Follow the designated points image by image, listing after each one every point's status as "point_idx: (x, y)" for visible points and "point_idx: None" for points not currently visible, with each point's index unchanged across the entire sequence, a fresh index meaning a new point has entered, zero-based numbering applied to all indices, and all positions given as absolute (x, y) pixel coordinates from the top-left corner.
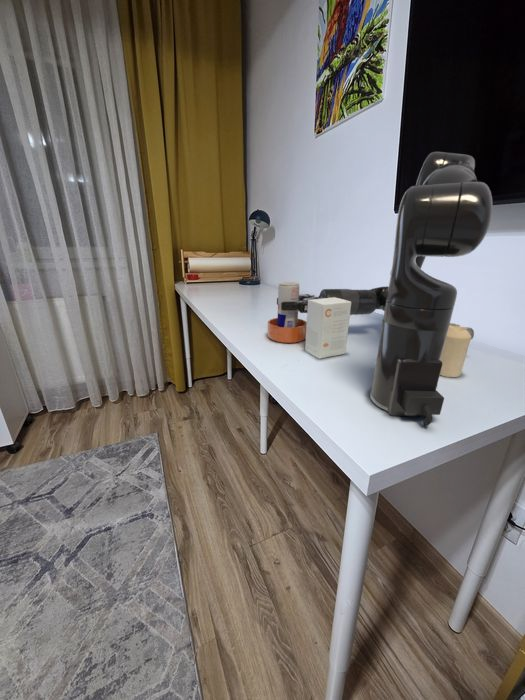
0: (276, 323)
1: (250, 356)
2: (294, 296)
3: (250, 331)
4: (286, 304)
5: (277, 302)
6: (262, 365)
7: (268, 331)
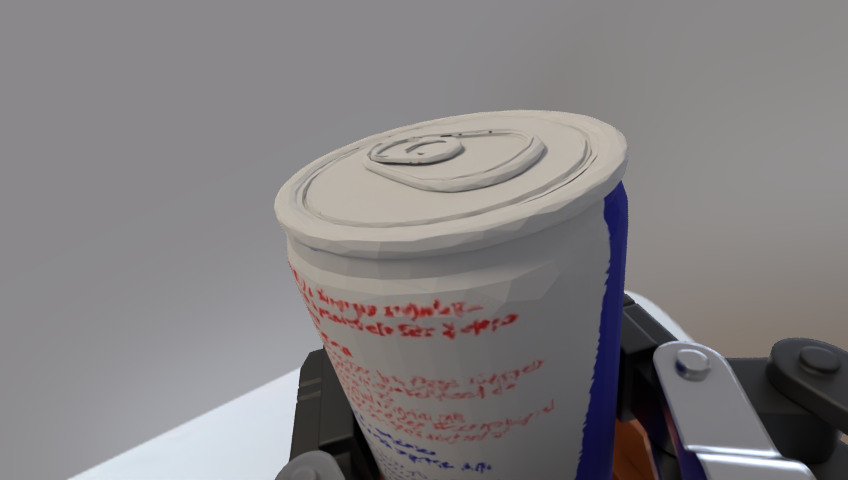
0: None
1: (233, 406)
2: (340, 380)
3: None
4: (301, 371)
5: None
6: (120, 469)
7: None
